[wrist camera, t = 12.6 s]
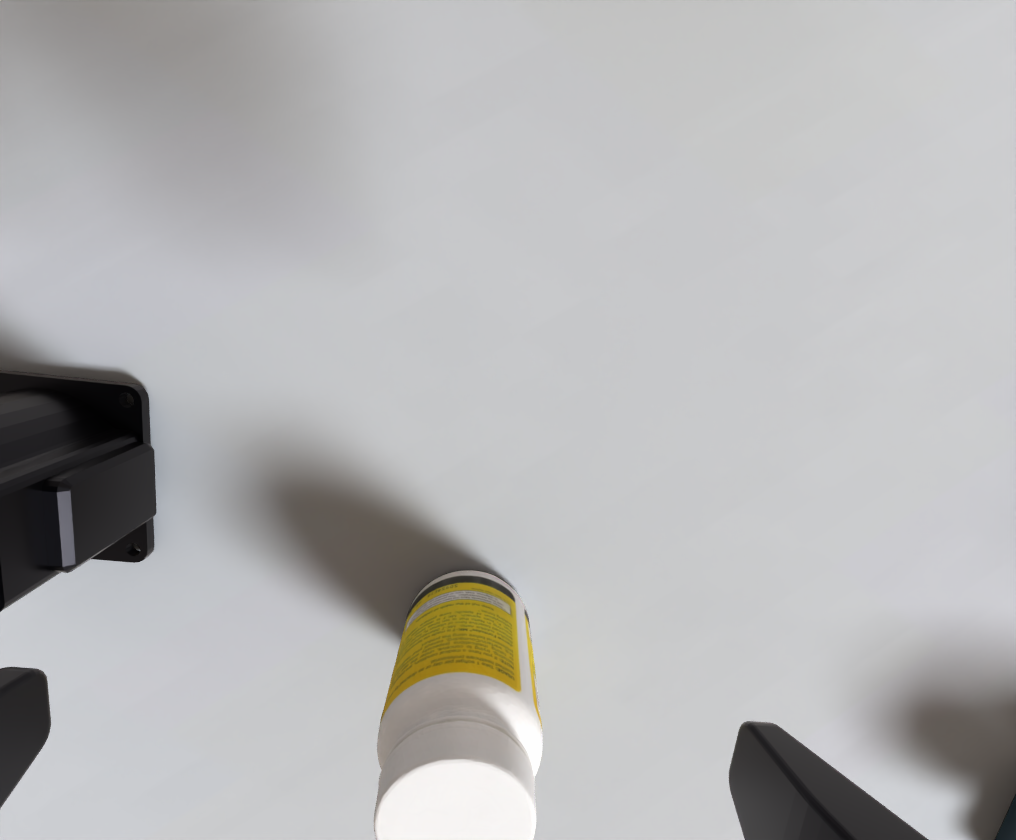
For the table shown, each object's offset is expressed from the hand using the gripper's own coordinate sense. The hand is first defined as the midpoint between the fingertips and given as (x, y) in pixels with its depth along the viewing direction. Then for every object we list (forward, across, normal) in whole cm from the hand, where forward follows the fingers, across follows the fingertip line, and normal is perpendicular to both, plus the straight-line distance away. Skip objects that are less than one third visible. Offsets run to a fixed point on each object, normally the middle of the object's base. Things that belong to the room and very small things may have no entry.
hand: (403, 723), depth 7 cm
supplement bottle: (+13, -1, +7) cm, 15 cm away
